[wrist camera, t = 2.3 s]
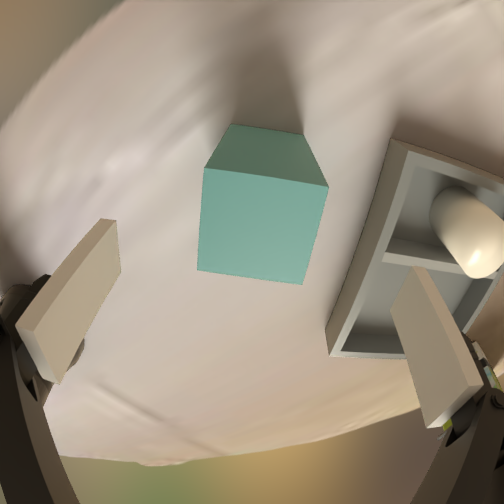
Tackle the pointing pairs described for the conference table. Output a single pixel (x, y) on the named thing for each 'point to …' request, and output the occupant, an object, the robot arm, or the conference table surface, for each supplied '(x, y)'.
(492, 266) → the cream rounded capsule
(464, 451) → the robot arm
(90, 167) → the conference table surface
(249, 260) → the teal carton
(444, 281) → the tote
